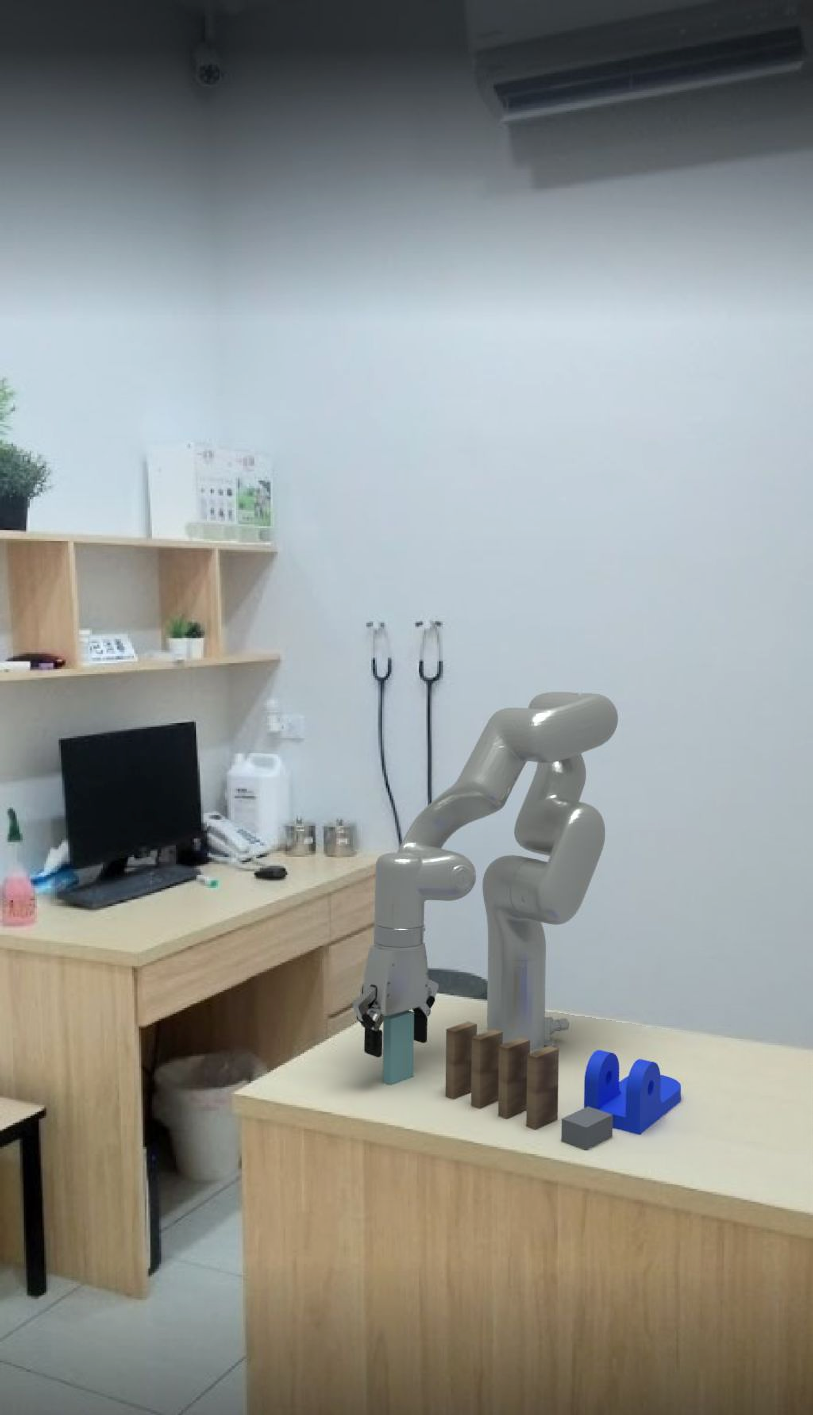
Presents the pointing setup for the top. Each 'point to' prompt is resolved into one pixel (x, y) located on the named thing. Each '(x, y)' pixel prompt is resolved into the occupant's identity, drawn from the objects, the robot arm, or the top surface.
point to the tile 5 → (542, 1087)
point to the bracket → (629, 1092)
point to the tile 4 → (513, 1077)
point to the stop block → (587, 1128)
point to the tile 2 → (459, 1059)
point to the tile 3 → (485, 1068)
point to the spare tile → (398, 1047)
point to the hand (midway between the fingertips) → (395, 1047)
